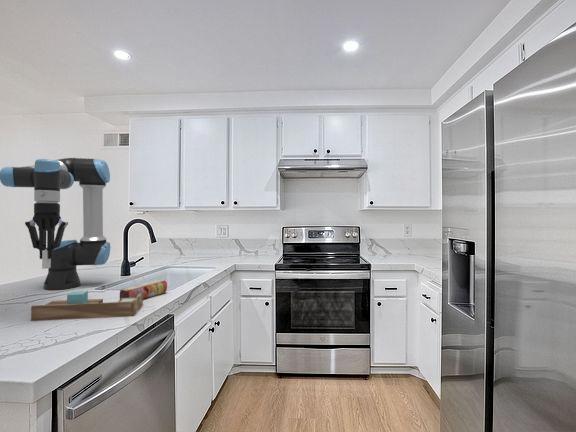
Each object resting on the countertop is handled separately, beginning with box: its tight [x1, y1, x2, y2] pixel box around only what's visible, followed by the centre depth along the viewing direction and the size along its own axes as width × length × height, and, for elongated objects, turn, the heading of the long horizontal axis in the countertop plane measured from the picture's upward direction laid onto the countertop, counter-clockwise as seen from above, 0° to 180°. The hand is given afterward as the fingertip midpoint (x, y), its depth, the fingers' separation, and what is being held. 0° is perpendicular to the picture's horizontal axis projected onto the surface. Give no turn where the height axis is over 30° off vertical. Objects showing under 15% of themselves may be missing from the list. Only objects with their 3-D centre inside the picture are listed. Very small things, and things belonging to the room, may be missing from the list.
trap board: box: [30, 292, 144, 322], centre depth 123 cm, size 15×33×5 cm, turn 102°
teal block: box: [66, 290, 89, 304], centre depth 119 cm, size 5×5×5 cm
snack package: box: [119, 278, 168, 300], centre depth 145 cm, size 21×7×7 cm, turn 155°
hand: (46, 267), depth 117 cm, fingers closed
